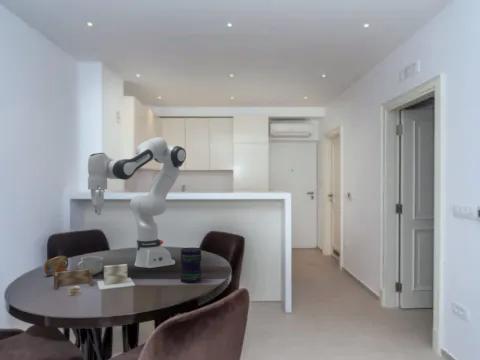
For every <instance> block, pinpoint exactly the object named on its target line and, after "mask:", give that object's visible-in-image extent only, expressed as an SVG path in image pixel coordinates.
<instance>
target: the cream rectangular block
mask: <svg viewBox="0 0 480 360" xmlns="http://www.w3.org/2000/svg"><path fill="white" fill-rule="evenodd" d="M127 278H128V264H127V263H123V264H113V265H111V264H110V265H103V280H104V285H108V284H117V283H126V282H127Z"/></svg>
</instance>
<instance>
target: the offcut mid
mask: <svg viewBox="0 0 480 360" xmlns="http://www.w3.org/2000/svg"><path fill="white" fill-rule="evenodd" d="M79 293H80V294H82V290H81V289H80V290H77V291H73V292H71V291H69V290H68V295H69V294H70V295H73V294H79Z"/></svg>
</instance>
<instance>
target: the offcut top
mask: <svg viewBox="0 0 480 360" xmlns="http://www.w3.org/2000/svg"><path fill="white" fill-rule="evenodd" d="M77 290H81V287H80V286H79V285H75V286H71V287H68V292H69V291H71V292H73V291H77Z"/></svg>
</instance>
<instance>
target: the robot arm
mask: <svg viewBox="0 0 480 360" xmlns="http://www.w3.org/2000/svg"><path fill="white" fill-rule="evenodd" d="M186 158H187V152H186V150H185V148H184V147H182V146H178V145H170V144H169V145H168V143H167V141H166V140H165V138H163V137H162V136H156V137H152V138H149V139H147V140H145V141H143V142H141V143H140V144H138V145H137V146H136V148H135V155H134V156H133V157H131V158H125V159H113V158H111V157H109V156H108V155H107V154H106V153H105V152H97V153H92V154H90V155H89V156H88V161H87V172H88V173H87V174H88V178H87V189H88V190H90V197H91V203H92V204H93V205H94V206H93V207H94V214H96V215H97V216H101V215H102V208H103V206H104V205H105V194H104V193H106V192H105V191H106V190H108V180H126V181H127V180H129V179H131V178H132V177H133V176H134V175H135V173H136V172H137V171H138V170H139V169H140V168H142V167H144V166H145V165H146V164H149V162H151V161H153V160H154V162H156V163H160V164H163V165H162V168H161V170H159V172H158V173H157V174H156V176H155V177H154V179H153V180H152V182H151V183H150V189H151V190H150V192H149V194H148V195H138V196H134V197H133V198H131V200H130V202H129V208H130V210H131V211H132V213H133V215H134V218H135V221H136V227H137V228H136V229H137V239H136V245H135V246H136V248H135V249H136V257H135V262H134V266H135V267H138V268H147V269H151V268H152V269H153V268H160V267H167V266H173V265H175V264H176V261H175V259H172V256H171V253H170V251H169V250H167V249H166V248H165V247H163V246H162V245H163V244H164V240H161V239H159V238H158V232H159V231H158V228H159V226H158V224H157V223H156V221H155V219H154V217H157V216H160V215H162V214H164V213H165V212H166V210H167V202H166V198H167V196H168V195H169V194H168V193H169V192H170V191H171V189H172V188H173V186H174V184H175V183H176V181H177V179H178V177H179V175H180V172H181V170H180V167H182V166H183V165H184V162H185V160H186Z"/></svg>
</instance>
